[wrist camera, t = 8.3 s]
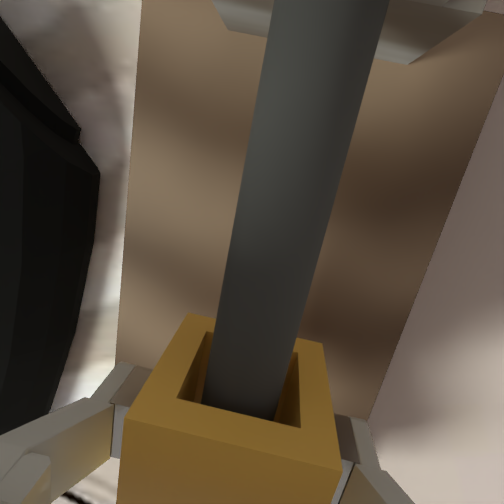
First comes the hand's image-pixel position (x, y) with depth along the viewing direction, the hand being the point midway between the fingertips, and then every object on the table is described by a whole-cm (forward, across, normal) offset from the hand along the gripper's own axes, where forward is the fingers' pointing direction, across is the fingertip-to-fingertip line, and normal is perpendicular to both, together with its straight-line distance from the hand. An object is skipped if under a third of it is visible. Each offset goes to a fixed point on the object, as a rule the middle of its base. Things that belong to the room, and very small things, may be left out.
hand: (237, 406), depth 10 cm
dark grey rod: (+1, 0, -3) cm, 3 cm away
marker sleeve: (+1, 0, 0) cm, 1 cm away
